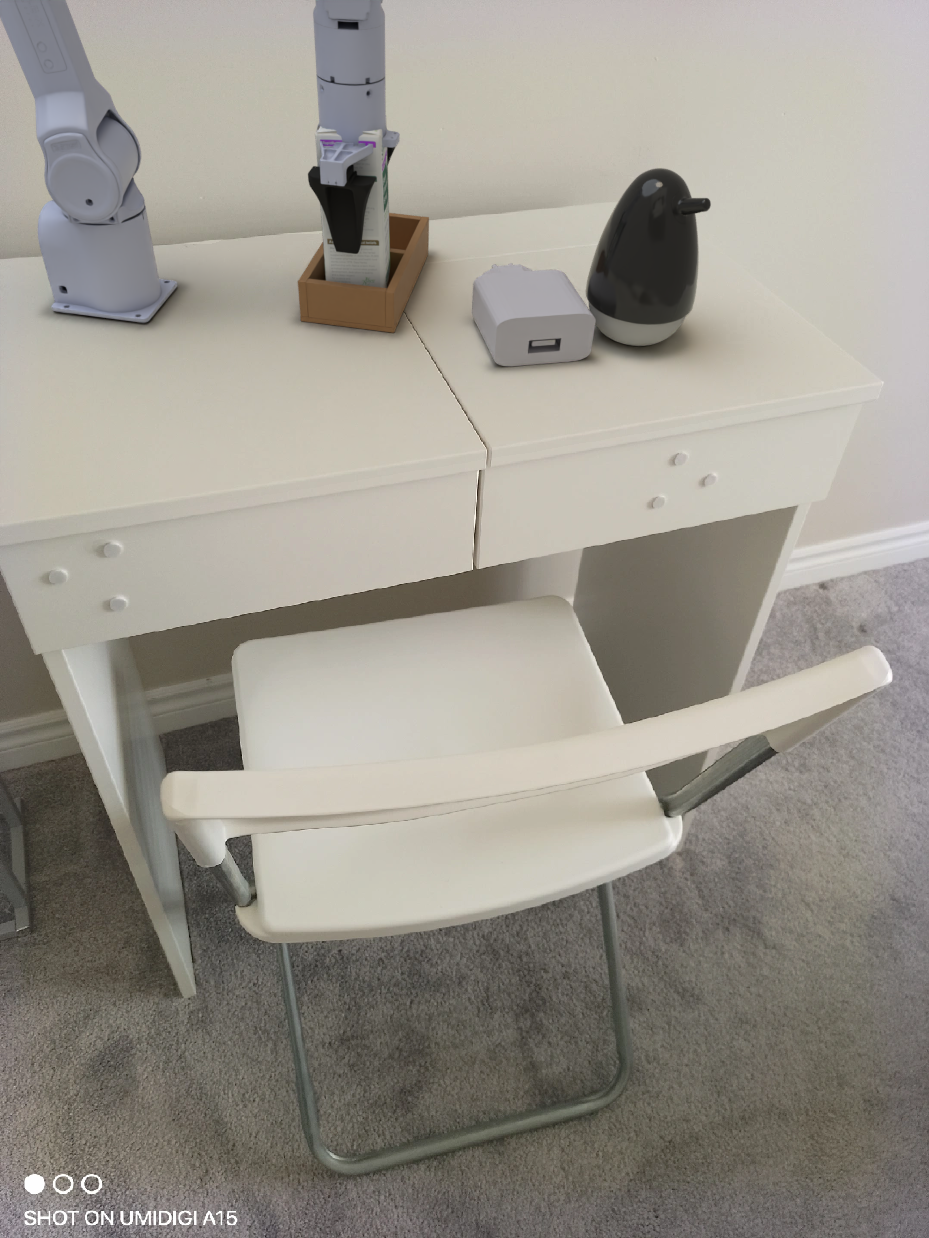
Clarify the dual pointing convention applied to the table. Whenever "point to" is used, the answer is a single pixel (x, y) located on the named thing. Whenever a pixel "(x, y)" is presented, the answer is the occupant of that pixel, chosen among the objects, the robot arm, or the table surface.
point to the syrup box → (375, 244)
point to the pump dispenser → (647, 261)
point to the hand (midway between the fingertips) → (356, 236)
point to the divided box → (368, 302)
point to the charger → (531, 316)
